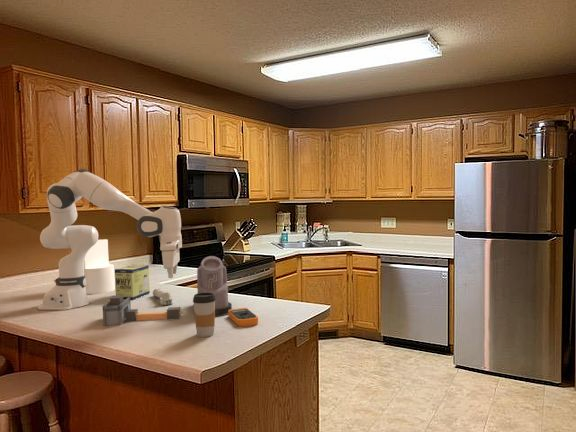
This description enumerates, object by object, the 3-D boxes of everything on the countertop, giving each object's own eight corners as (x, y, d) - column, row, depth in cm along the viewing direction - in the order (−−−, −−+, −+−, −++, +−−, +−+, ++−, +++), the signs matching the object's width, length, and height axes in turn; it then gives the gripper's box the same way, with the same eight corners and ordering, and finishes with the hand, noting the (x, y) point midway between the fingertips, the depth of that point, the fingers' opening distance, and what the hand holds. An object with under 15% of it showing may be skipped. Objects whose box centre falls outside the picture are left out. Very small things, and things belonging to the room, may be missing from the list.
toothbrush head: (161, 288, 237) (173, 289, 215) (162, 300, 236) (174, 303, 215) (150, 289, 234) (162, 291, 212) (151, 302, 234) (163, 305, 212)
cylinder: (74, 293, 248) (71, 242, 247) (98, 286, 264) (96, 239, 263) (98, 294, 242) (96, 243, 240) (121, 288, 258) (119, 239, 256)
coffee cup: (195, 331, 171) (194, 292, 171) (217, 330, 172) (216, 291, 171) (192, 338, 163) (191, 297, 162) (216, 337, 164) (214, 296, 163)
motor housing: (103, 325, 183) (102, 301, 182) (114, 315, 198) (113, 293, 197) (121, 324, 183) (119, 300, 183) (131, 315, 198) (129, 292, 198)
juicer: (233, 315, 192) (231, 259, 191) (195, 319, 189) (193, 261, 188) (227, 300, 222) (226, 250, 220) (194, 302, 218) (192, 252, 217)
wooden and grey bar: (125, 321, 188) (125, 312, 188) (128, 318, 193) (128, 309, 192) (182, 318, 190) (182, 309, 190) (184, 315, 195) (183, 306, 194)
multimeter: (239, 328, 175) (238, 319, 175) (227, 317, 192) (227, 309, 191) (260, 325, 178) (259, 317, 178) (247, 314, 195) (246, 306, 195)
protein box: (115, 299, 230) (113, 269, 229) (133, 292, 245) (132, 264, 244) (133, 300, 227) (131, 269, 226) (150, 293, 242) (149, 264, 241)
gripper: (168, 241, 203) (169, 271, 204) (159, 247, 183) (160, 280, 184) (182, 240, 204) (183, 270, 205) (175, 246, 183) (176, 280, 184)
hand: (172, 275), depth 194 cm, fingers open, 8 cm apart
